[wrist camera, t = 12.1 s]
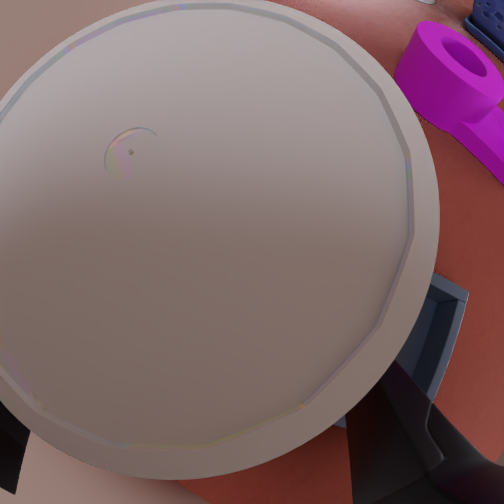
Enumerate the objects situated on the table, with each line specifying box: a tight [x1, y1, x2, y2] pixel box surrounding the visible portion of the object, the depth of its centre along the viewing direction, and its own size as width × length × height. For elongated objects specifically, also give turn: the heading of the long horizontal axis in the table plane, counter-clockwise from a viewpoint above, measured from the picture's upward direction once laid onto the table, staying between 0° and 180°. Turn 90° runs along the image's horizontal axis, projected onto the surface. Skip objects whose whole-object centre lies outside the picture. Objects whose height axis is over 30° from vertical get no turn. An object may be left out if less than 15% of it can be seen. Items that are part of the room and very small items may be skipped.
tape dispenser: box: [394, 21, 504, 185], centre depth 19 cm, size 16×10×6 cm, turn 53°
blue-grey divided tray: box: [332, 272, 469, 429], centre depth 16 cm, size 10×19×3 cm, turn 65°
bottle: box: [0, 0, 440, 480], centre depth 10 cm, size 7×7×15 cm
